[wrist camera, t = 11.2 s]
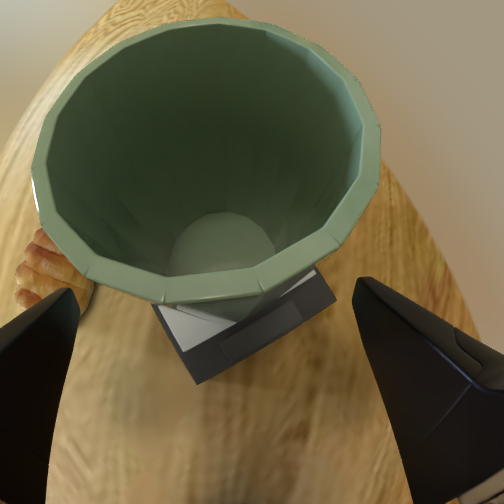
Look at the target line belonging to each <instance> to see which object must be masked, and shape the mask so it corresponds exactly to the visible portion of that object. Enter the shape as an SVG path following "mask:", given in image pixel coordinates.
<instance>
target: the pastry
mask: <svg viewBox="0 0 504 504" xmlns="http://www.w3.org/2000/svg"><path fill="white" fill-rule="evenodd" d="M23 256H24V262H23V263H21V264H20V265H19V266H18V267H17V269H16V273H15V276H16V279H17V283H18V286H17V288H16V293H15V294H14V299H15V301H16V303H18V304H19V305H20V306H21V307H22V308H23V309H25V310H27V309H29V308H30V307H32V306H33V305H35V304H36V303H38V302H39V301H41V300H42V299H44V298H45V297H47V296H48V295H50V294H51V293H53V292H54V291H56V290H57V289H59V288H61V287H69V288H72V290H73V291H74V294H75V296H76V299H77V301H78V304H79V306H80V312H81V313H80V316H81V315H82V314H83V312H84V311H85V310H86V308H87V307H88V304H89V301H90V298H91V296H92V294H93V290H94V283H95V282H93V281H91V280H88V279H87V278H86V277H84V276H83V275H82V274H81V273H80V272H79V271H78V270H77V269H76V268H75V267H74V266H73V264H72V263H71V262H70V261H69V260H68V259H67V258H66V256H65V255H64V254H63V253H62V252H61V251H60V250H59V248H58V247H57V246H56V245H55V244H54V242H53V241H52V240H51V239H50V238H49V236H48V235H47V234H46V233H45V231H44V230H43V229H42V228H41V229H39V230H37V231H36V232H35V235H34V240H33V241H32V242H31V243H30V244H29V245H28V246H27V248H26V249H25V250H24V253H23Z"/></svg>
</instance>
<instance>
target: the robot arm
mask: <svg viewBox="0 0 504 504" xmlns="http://www.w3.org/2000/svg"><path fill="white" fill-rule="evenodd" d="M352 306H353V310H354V313H355V317H356V321H357V324H358V328H359V332H360V336H361V340H362V343H363V346H364V349H365V352H366V355H367V357H368V360H369V363H370V365H371V368H372V371H373V374H374V376H375V379H376V382H377V385H378V388H379V390H380V393H381V396H382V399H383V402H384V405H385V408H386V411H387V414H388V417H389V420H390V423H391V426H392V429H393V433H394V436H395V439H396V442H397V446H398V449H399V452H400V456H401V459H402V463H403V467H404V470H405V474H406V477H407V481H408V485H409V489H410V492H411V496H412V500H413V504H445V503H447V502H449V501H451V500H453V499H455V498H458V501H459V504H504V355H503V354H501V353H499V352H497V351H495V350H494V349H492V348H490V347H488V346H486V345H485V344H483V343H481V342H479V341H477V340H476V339H474V338H472V337H471V336H469V335H467V334H466V333H464V332H462V331H461V330H459V329H458V328H456V327H453V325H451V324H449V323H448V322H446V321H445V320H443V319H441V318H440V317H438V316H436V315H435V314H433V313H431V312H430V311H428V310H426V309H425V308H423V307H421V306H420V305H418V304H416V303H415V302H413V301H411V300H410V299H408V298H406V297H405V296H403V295H401V294H400V293H398V292H396V291H394V290H393V289H391V288H389V287H388V286H386V285H384V284H382V283H381V282H379V281H377V280H375V279H374V278H372V277H359V278H358V279H357V281H356V284H355V289H354V293H353V297H352ZM80 313H81V312H80V306H79V304H78V301H77V299H76V296H75V294H74V291H73V290H72V288H69V287H61V288H59V289H57V290H56V291H54V292H53V293H51V294H50V295H48V296H47V297H45V298H44V299H42V300H41V301H39V302H38V303H36V304H35V305H33V306H32V307H30V308H29V309H27V310H26V311H24V312H23V313H21V314H20V315H19V316H17V317H16V318H14V319H13V320H11V321H10V322H9V323H7V324H6V325H4V326H3V327H2V328H0V504H45V501H46V487H47V477H48V468H49V465H48V464H49V459H50V452H51V445H52V439H53V433H54V428H55V423H56V418H57V413H58V408H59V403H60V399H61V395H62V391H63V386H64V382H65V379H66V375H67V371H68V367H69V364H70V360H71V356H72V352H73V348H74V343H75V337H76V333H77V328H78V323H79V319H80Z"/></svg>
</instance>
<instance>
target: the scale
mask: <svg viewBox="0 0 504 504" xmlns="http://www.w3.org/2000/svg"><path fill="white" fill-rule="evenodd" d="M335 301H337V299H336V298H335V296H334V294H333V293H332V291H331V290H330V288H329V286H328V285H327V283H326V282H325V280H324V278H323V277H322V275H321V274H320V272H319V270H318V269H317V267H316V268H315V269H314V270H313V271H311V272H310V273H309V274H308V275H306V276H305V277H304V278H303V279H301V280H300V281H299V282H298V283H296V284H295V285H294V286H293V287H291V288H290V289H289V290H288V291H286V292H285V293H284V294H283V295H281V296H280V297H279V298H278V299H276V300H275V301H274V302H272V303H271V304H270V305H269V306H267V307H266V308H265V309H263V310H262V311H260V312H258V313H256V314H255V315H253V316H251V317H250V318H248V319H246V320H244V321H242V322H234V323H226V324H214V323H211V322H207V321H204V320H200V319H197V318H194V317H191V316H187V315H184V314H181V313H178V312H175V311H172V310H169V309H166V308H163V307H161V306H158V305H155V304H152V303H151V305H152V307H153V309H154V311H155V313H156V315H157V317H158V319H159V321H160V322H161V324H162V326H163V328H164V330H165V332H166V333H167V335H168V337H169V339H170V341H171V342H172V344H173V346H174V348H175V350H176V351H177V353H178V355H179V356H180V358H181V360H182V362H183V363H184V365H185V367H186V368H187V370H188V372H189V373H190V375H191V376H192V378H193V380H194V381H195V383H196V384H197V385H198V384H200V383H202V382H204V381H206V380H208V379H209V378H211V377H213V376H215V375H217V374H219V373H220V372H222V371H224V370H226V369H228V368H229V367H231V366H233V365H235V364H236V363H238V362H240V361H242V360H243V359H245V358H247V357H249V356H250V355H252V354H254V353H255V352H257V351H259V350H261V349H262V348H264V347H266V346H267V345H269V344H270V343H272V342H274V341H275V340H277V339H279V338H280V337H282V336H283V335H285V334H287V333H288V332H290V331H291V330H293V329H295V328H296V327H298V326H299V325H301V324H302V323H304V322H305V321H307V320H309V319H310V318H312V317H313V316H315V315H316V314H318V313H319V312H321V311H322V310H324V309H325V308H327V307H328V306H330V305H331V304H333V303H334V302H335Z"/></svg>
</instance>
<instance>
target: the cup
mask: <svg viewBox="0 0 504 504" xmlns="http://www.w3.org/2000/svg"><path fill="white" fill-rule="evenodd" d="M380 160H381V128H380V123H379V121H378V119H377V117H376V115H375V112H374V110H373V108H372V106H371V104H370V102H369V100H368V97H367V95H366V93H365V91H364V89H363V88H362V85H361V83H360V82H359V81H358V79H357V78H356V77H355V76H354V75H353V74H352V73H351V72H350V71H349V70H348V69H347V68H346V67H345V66H343V65H342V64H341V63H340V62H339V61H338V60H337V59H336V58H335V57H334V56H332V55H331V54H330V53H329V52H328V51H327V50H326V49H324V48H323V47H322V46H320V45H319V44H317V43H315V42H313V41H311V40H308V39H306V38H304V37H302V36H300V35H298V34H295V33H293V32H291V31H288V30H286V29H284V28H281V27H279V26H276V25H272V24H269V23H263V22H258V21H251V20H244V19H236V18H228V17H213V18H202V19H193V20H186V21H179V22H172V23H169V24H164V25H161V26H159V27H156V28H153V29H150V30H148V31H145V32H143V33H140V34H138V35H135V36H133V37H130V38H128V39H126V40H124V41H121V42H120V43H118V44H116V45H114V46H113V47H112V48H110V49H109V50H107V51H106V52H105V53H103V54H102V55H101V56H99V57H98V58H96V59H95V60H94V61H93V62H91V63H90V64H89V65H87V66H86V67H85V68H84V69H82V70H81V71H80V72H79V73H77V75H76V76H75V77H74V78H73V79H72V80H71V82H70V83H69V84H68V86H67V87H66V88H65V90H64V91H63V92H62V94H61V95H60V96H59V98H58V99H57V101H56V102H55V104H54V105H53V106H52V108H51V109H50V111H49V112H48V114H47V115H46V117H45V119H44V122H43V125H42V128H41V132H40V135H39V139H38V142H37V146H36V150H35V154H34V158H33V162H32V166H31V177H32V183H33V189H34V195H35V200H36V206H37V211H38V215H39V220H40V224H41V226H42V229H43V230H44V231H45V233H46V234H47V235H48V236H49V238H50V239H51V240H52V241H53V242H54V244H55V245H56V246H57V247H58V248H59V250H60V251H61V252H62V253H63V254H64V255H65V256H66V258H67V259H68V260H69V261H70V262H71V263H72V264H73V266H74V267H75V268H76V269H77V270H78V271H79V272H80V273H81V274H82V275H83V276H84V277H86V278H87V279H88V280H91V281H93V282H96V283H98V284H101V285H103V286H106V287H109V288H111V289H114V290H116V291H119V292H122V293H124V294H127V295H130V296H132V297H135V298H138V299H141V300H143V301H146V302H149V303H152V304H155V305H158V306H161V307H163V308H166V309H169V310H172V311H175V312H178V313H181V314H184V315H187V316H191V317H194V318H197V319H200V320H204V321H207V322H211V323H214V324H226V323H234V322H242V321H244V320H246V319H248V318H250V317H251V316H253V315H255V314H256V313H258V312H260V311H262V310H263V309H265V308H266V307H267V306H269V305H270V304H271V303H272V302H274V301H275V300H276V299H278V298H279V297H280V296H281V295H283V294H284V293H285V292H286V291H288V290H289V289H290V288H291V287H293V286H294V285H295V284H296V283H298V282H299V281H300V280H301V279H303V278H304V277H305V276H306V275H308V274H309V273H310V272H311V271H313V270H314V269H315V268H316V267H317V266H319V265H320V264H321V263H322V262H324V261H325V260H326V259H327V258H328V257H330V256H331V255H332V254H333V253H334V252H336V251H337V250H338V249H339V248H340V247H341V246H342V245H343V244H344V242H345V241H346V239H347V238H348V236H349V234H350V233H351V231H352V230H353V228H354V227H355V225H356V223H357V222H358V220H359V219H360V217H361V215H362V214H363V212H364V211H365V209H366V207H367V206H368V204H369V202H370V201H371V199H372V197H373V196H374V194H375V192H376V191H377V189H378V185H379V179H380Z"/></svg>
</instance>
